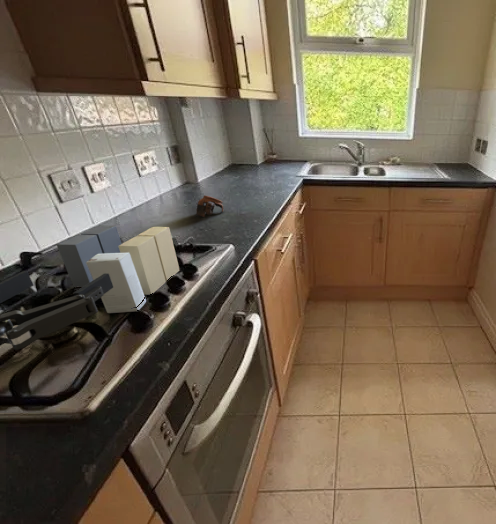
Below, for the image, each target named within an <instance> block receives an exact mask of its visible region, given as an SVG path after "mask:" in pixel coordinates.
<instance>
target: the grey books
mask: <svg viewBox="0 0 496 524" xmlns="http://www.w3.org/2000/svg"><path fill="white" fill-rule="evenodd" d="M121 244H123V242H122V241H121V237H120V233H119V231H118V227H117V225H100V224H99V225H98V226H94V227H93V228H90V229H88V230H86V231H84V232H81V233H80V234H76V235H74V236H73V237H70V238H67V239H65V240H63V241H60V242H58V243H56V248H57V250H58V253H59V254H60V257H61V259H62V261H63V264H64V267H65V269H66V272H67V274H68V277H69V279H70V282H71V284H72V286H73V288H74V287H77V286H79V287H84V286H85V285H87V284H88V283H90V282H91V281H93V278H92V275H91V273H90V271H89V268H88V266H87V264H86V262H87V261H89V260H90V259H91V258H93V257H94V256H95V255H97V254H107V253H120V250H119V247H118V246H119V245H121Z"/></svg>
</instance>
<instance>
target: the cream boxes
mask: <svg viewBox="0 0 496 524" xmlns="http://www.w3.org/2000/svg"><path fill="white" fill-rule="evenodd" d="M118 247H119V250H120V253H130V256H131V259H132V262H133V265H134V267H135V270H136V273H137V276H138V279H139V282H140V285H141V288H142V290H143V293H144V296H147V295H148V296H151V295H150V294H152V293H153V294H154V293H156V291H158V290H159V289H160V288H161V287H162V286H163V285H164V284H166V282H168V281H169V280H170V279H171V278H172V277H171V276H173V275H174V276H175V275H176V274H177V273H178V272H180V266H179V262H178V258H177V253H176V250H175V245H174V242H173V236H172V233H171V228H170V226H152V227H150V228H148V229H146V230H144V231H143V232H141V233H139V234H137V235H135V236H134V237H132V238H130V239H128V240H126V241H124V242H122V244H121V245H119V246H118ZM174 276H173V277H174ZM170 277H171V278H170ZM169 278H170V279H169ZM168 279H169V280H168ZM167 280H168V281H167ZM153 294H152V295H153Z"/></svg>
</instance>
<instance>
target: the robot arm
mask: <svg viewBox="0 0 496 524" xmlns="http://www.w3.org/2000/svg"><path fill="white" fill-rule="evenodd" d="M34 286H35V285H34V282H33V280H32V278H31V277H30V274H29V271H24V270H23V271H20V272H19V273H16V274H13V275H12V276H10V277H8V278H6V279H3V280H2V281H0V304H2V303H4V302H6V301H7V300H9V299H11V298H13V297H15V296H17V295H18V294H20V293H22V292H24V291H26V290H28V289H30V288H32V287H34ZM112 288H113V284H112V281H111V279H110V276H109V273H104V274H103V275H101V276H99V277H98V278H96V279H95V280H93V281H91V282H90V283H88V284H87V285H85V286H84V287H82V288H80V289H79V290H77V291H74V292H73V296H70V297H66V298H63V299H60V300H56V301H52V302H49V303H47V304H42V305H40V306H36V307H33V308H30V309H26V310H23V311H21V310H18V309H17V310H16V309H15V310H12V311H7V312H4V313H1V314H0V346H3V345H5V344H8V345H11V346H12V348H13V350H15V351H18V350H22V349H23V348H25V347H27V346H29V345H30V344H32V343H34V342H36V341H37V340H38V339H41V338H43V337H46V336H48V335H50V334H52V333H54V332H57V331H60V330H61V329H63V328H66V327H68V326H71V325H72V324H75V323H78V322H79V321H81V320H84V319H86V318H88V317H90V316H93V315H95V314H97V313H98V312H99V310H98V308H97V306H96V305H97V304H96V303H95V302H96V301H98V300H99V299H101V297H102V296H103V295H104V294H105V293H106V292H108V291H109V290H111V289H112ZM11 320H14V321H15V323H16V325H15V324H13V322H12V321H11Z"/></svg>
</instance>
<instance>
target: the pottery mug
mask: <svg viewBox="0 0 496 524" xmlns="http://www.w3.org/2000/svg"><path fill="white" fill-rule="evenodd" d="M223 204H224V203H223V201H222V200H221V199H218V198H215V197H213V196H209V195H203V196H202V198H200V199H199V200H198V201H197V204H196V215H197V216H200V217H204V218H205V217H206V215H208V216H211V215H213V213H214V209H215V207H218V208H220V209H221V213H223V212H224V205H223Z"/></svg>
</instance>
